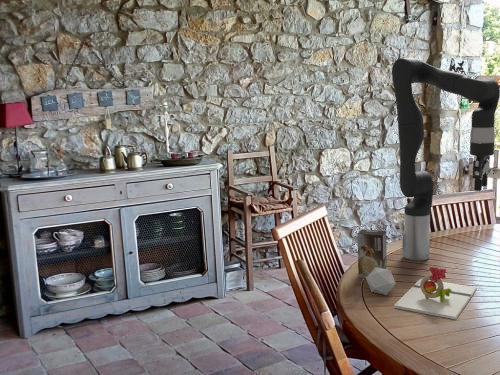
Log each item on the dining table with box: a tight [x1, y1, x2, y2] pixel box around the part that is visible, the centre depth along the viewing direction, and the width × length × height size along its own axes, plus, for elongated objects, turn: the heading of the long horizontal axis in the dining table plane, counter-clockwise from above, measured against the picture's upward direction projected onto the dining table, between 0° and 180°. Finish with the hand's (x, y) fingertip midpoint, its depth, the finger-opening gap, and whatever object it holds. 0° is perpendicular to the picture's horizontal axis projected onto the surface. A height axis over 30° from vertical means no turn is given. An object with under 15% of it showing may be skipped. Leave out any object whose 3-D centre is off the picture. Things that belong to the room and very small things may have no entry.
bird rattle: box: [420, 266, 452, 303], centre depth 169 cm, size 6×11×9 cm
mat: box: [393, 278, 478, 320], centre depth 173 cm, size 18×26×1 cm
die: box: [365, 267, 396, 296], centre depth 179 cm, size 8×9×10 cm
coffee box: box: [357, 228, 388, 279], centre depth 193 cm, size 9×6×16 cm
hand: (480, 188), depth 187 cm, fingers open, 8 cm apart
